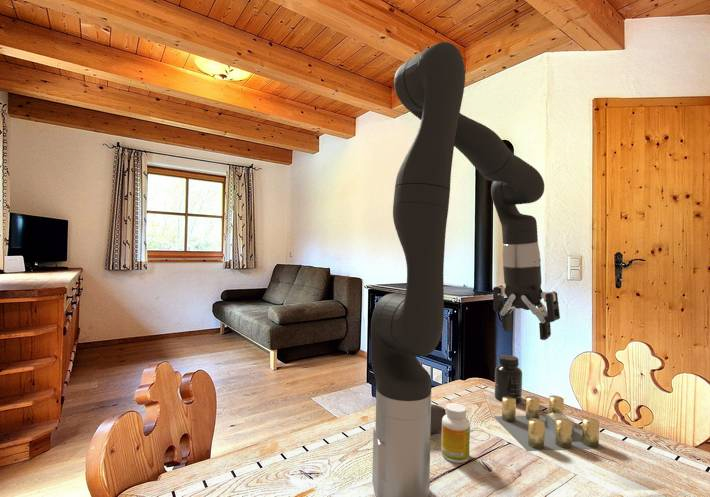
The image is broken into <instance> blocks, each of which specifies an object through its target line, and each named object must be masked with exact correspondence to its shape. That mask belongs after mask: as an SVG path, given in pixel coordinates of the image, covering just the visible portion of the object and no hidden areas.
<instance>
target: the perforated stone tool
mask: <svg viewBox="0 0 710 497" xmlns="http://www.w3.org/2000/svg"><path fill="white" fill-rule="evenodd" d="M444 415H446V408H444V407H442V406H440V405H437V404H433V403H431V431H430V435H432V434H437V433H442V418H443V416H444Z"/></svg>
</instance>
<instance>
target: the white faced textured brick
mask: <svg viewBox="0 0 710 497" xmlns="http://www.w3.org/2000/svg"><path fill="white" fill-rule="evenodd" d="M545 415H546V427H547V428H548V429H549V430H551V431H552V432H553V433H554V434H555V433H556V418H566V419H568V420H570V421H572V435H574V426H575V421H574V420H573V419H571V418H570V417H569V416H567V415H566V414H564V412H563V413H550V414H549V413H545Z"/></svg>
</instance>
